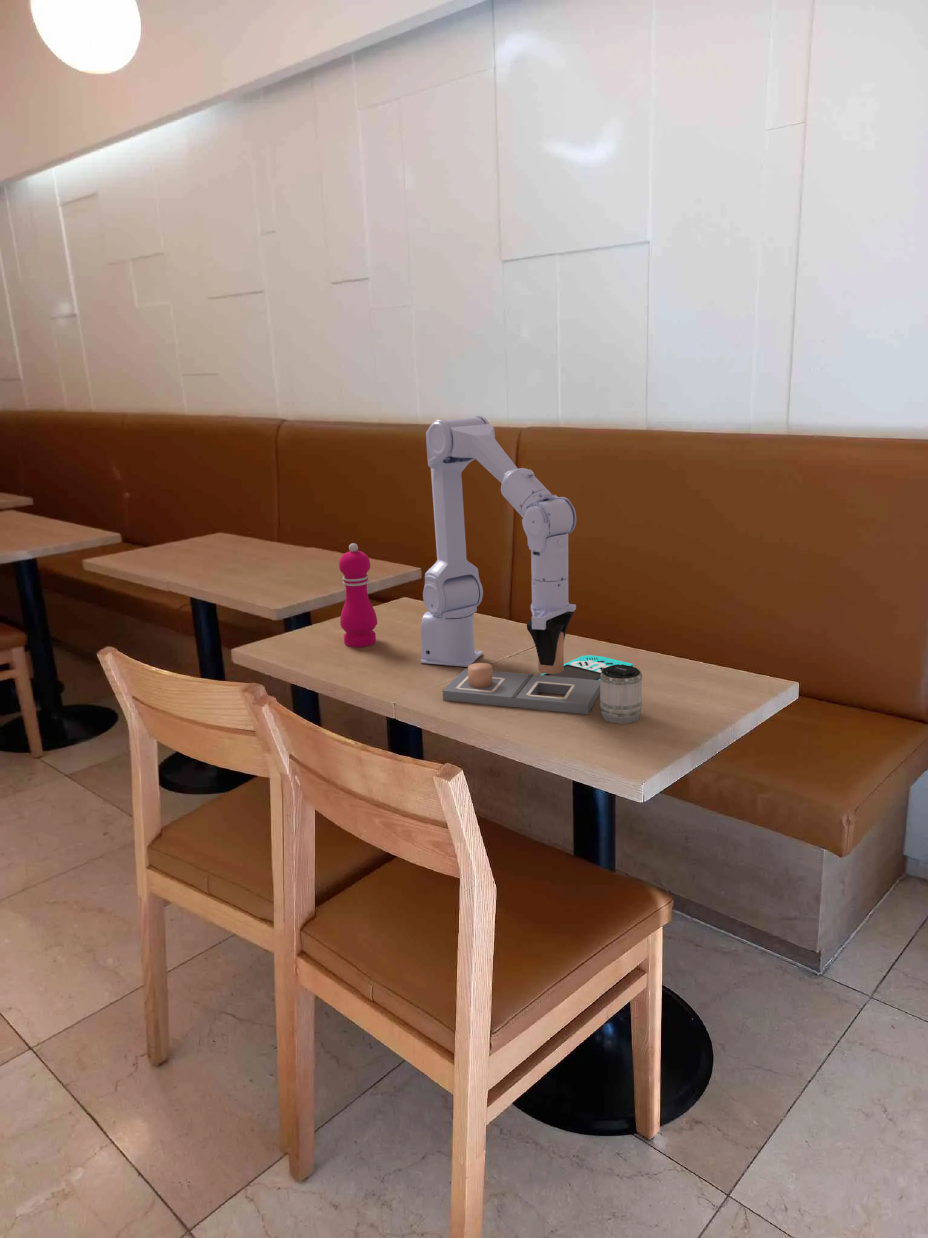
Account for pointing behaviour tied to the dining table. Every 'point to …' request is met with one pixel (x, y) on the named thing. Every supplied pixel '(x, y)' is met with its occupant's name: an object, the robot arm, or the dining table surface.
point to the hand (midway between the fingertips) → (550, 660)
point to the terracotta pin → (556, 659)
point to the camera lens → (620, 694)
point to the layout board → (522, 690)
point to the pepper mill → (357, 600)
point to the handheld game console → (587, 667)
